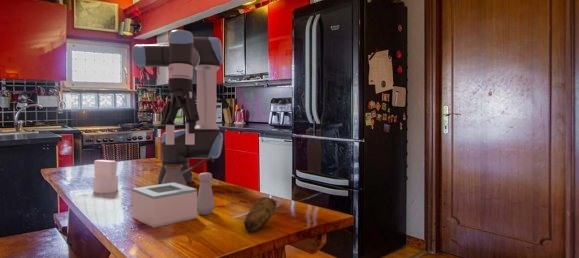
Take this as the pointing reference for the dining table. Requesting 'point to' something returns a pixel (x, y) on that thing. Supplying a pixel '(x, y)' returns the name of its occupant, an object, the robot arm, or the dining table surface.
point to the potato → (260, 214)
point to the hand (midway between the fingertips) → (179, 144)
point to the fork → (248, 212)
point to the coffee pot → (178, 173)
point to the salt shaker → (205, 194)
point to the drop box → (164, 204)
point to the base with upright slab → (105, 176)
